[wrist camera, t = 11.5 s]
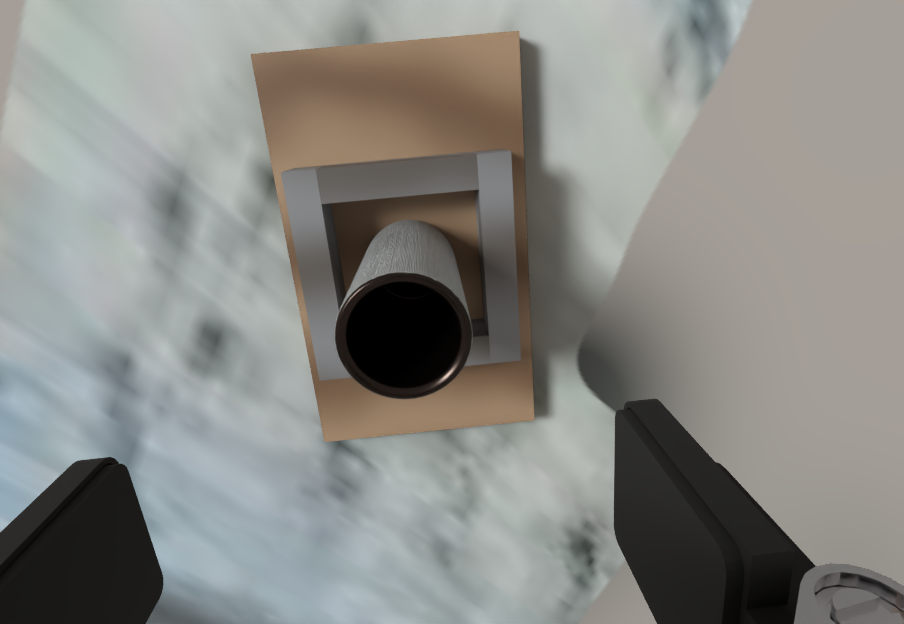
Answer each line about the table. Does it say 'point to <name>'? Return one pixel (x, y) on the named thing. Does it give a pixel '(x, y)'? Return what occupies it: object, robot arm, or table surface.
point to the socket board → (406, 207)
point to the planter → (405, 314)
